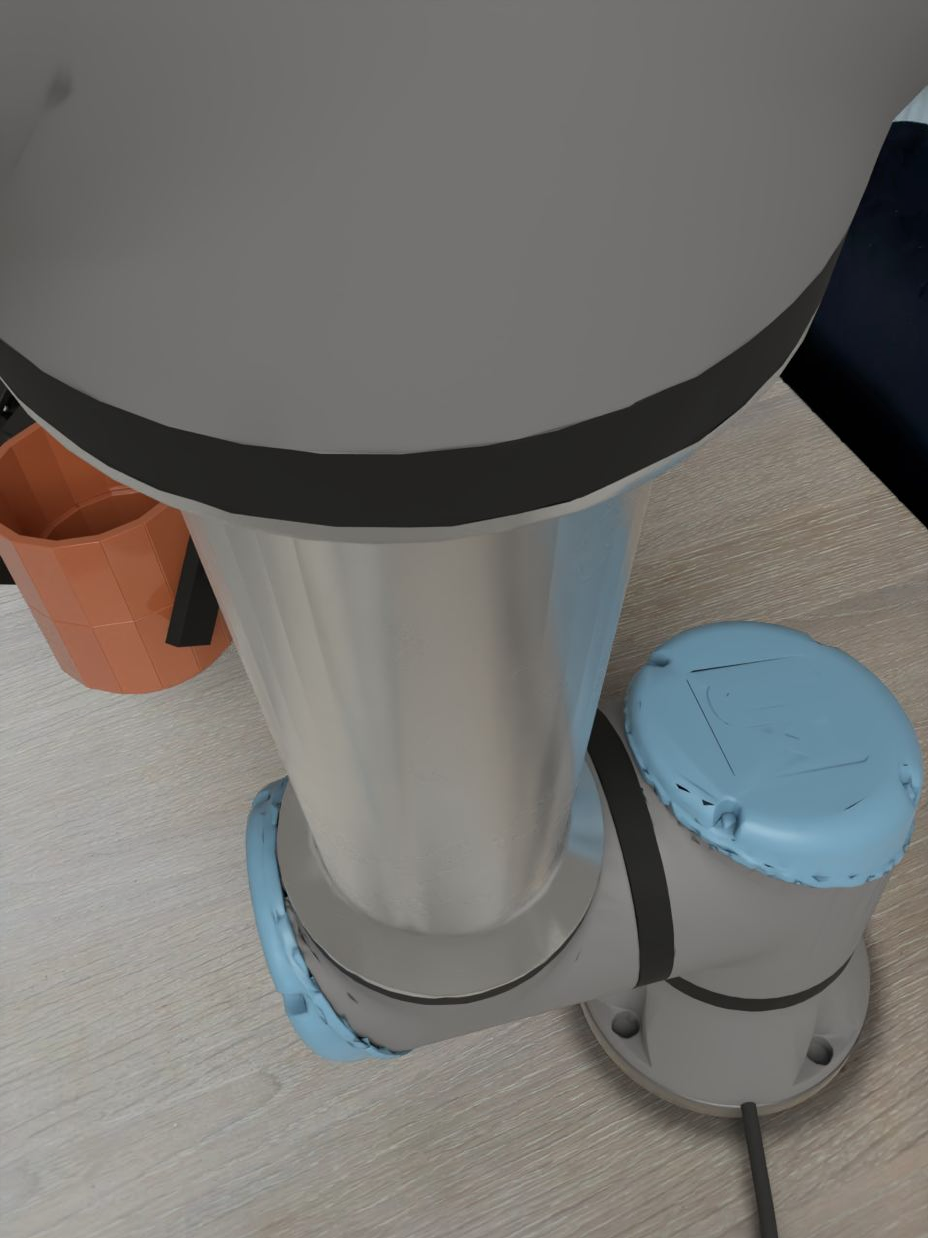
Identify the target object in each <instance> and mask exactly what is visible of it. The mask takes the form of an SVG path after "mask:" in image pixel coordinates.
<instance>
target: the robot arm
mask: <svg viewBox="0 0 928 1238" xmlns="http://www.w3.org/2000/svg"><path fill="white" fill-rule="evenodd" d="M927 86H928V0H0V447H1V446H2V444H4V443H5V442H6V441H8V440H9V439H11V438H12V437H14V436H15V435H17V434H18V433H20V432H21V431H23V430H24V429H26V428H27V427H29V426H30V425H32V424H33V423H35V422H37V423H38V424H39V425H41V426H42V427H43V428H44V429H45V430H46V431H47V432H48V433H50V434H51V435H52V436H53V437H54V438H55V439H56V440H57V441H58V442H60V443H61V444H62V445H63V446H64V447H65V448H66V449H67V450H69V451H70V452H72V453H74V454H75V455H77V456H78V457H80V458H81V459H83V460H84V461H86V462H87V463H89V464H90V465H92V466H93V467H95V468H96V469H98V470H99V471H101V472H103V473H104V474H106V475H107V476H109V477H110V478H112V479H113V480H115V481H117V482H119V483H122V484H124V485H126V486H128V487H130V488H132V489H134V490H136V491H138V492H140V493H143V494H145V495H147V496H149V497H151V498H153V499H155V500H157V501H159V502H161V503H164V504H166V505H168V506H170V507H173V508H177V509H180V510H181V513H182V515H183V518H184V520H185V523H186V525H187V528H188V530H189V532H190V536H189V540H188V545H187V549H186V554H185V558H184V562H183V567H182V571H181V575H180V580H179V584H178V589H177V593H176V597H175V602H174V606H173V610H172V615H171V619H170V623H169V628H168V632H167V637H166V641H165V643H167V644H169V645H172V646H175V647H191V646H203V645H211V640H212V636H213V632H214V627H215V623H216V619H217V615H218V610H219V606H220V609H221V611H222V614H223V616H224V619H225V621H226V624H227V626H228V629H229V631H230V634H231V636H232V639H233V640H232V642H233V644H234V646H235V649H236V651H237V653H238V656H239V657H240V660H241V664H242V665H243V668H244V671H245V673H246V675H247V678H248V681H249V683H250V685H251V687H252V690H253V693H254V695H255V698H256V699H257V703H258V705H259V707H260V710H261V713H262V716H263V717H264V720H265V723H266V725H267V728H268V729H269V730H268V731H269V732H270V735H271V737H272V740H273V742H274V745H275V747H276V749H277V752H278V754H279V757H280V759H281V761H282V764H283V767H284V769H285V772H286V774H287V775H285V776H284V777H281V778H279V779H277V780H275V781H272V782H270V783H268V784H266V785H265V786H263V787H262V788H261V789H260V790H259V791H258V792H257V794H256V795H255V796H254V799H253V801H252V803H251V809H250V810H249V812H248V813H247V820H246V827H245V860H246V861H245V863H246V864H245V865H246V874H247V879H248V880H247V881H248V888H249V894H250V901H251V906H252V909H253V917H254V921H255V925H256V931H257V934H258V938H259V941H260V946H261V949H262V953H263V956H264V957H263V958H264V960H265V963H266V966H267V971H268V973H269V975H270V977H271V979H272V982H273V984H274V988H275V990H276V992H277V993H278V994H280V995H281V996H282V1000H283V1005H284V1006H283V1007H284V1012H285V1014H286V1016H287V1019H288V1021H289V1023H290V1025H291V1027H292V1028H293V1030H294V1032H295V1033H296V1034H297V1036H298V1038H299V1039H300V1040H301V1041H302V1042H303V1043H304V1045H305V1046H306V1047H307V1048H308V1049H309V1051H311V1052H312V1053H313V1054H315V1055H317V1056H318V1057H320V1058H321V1059H323V1060H326V1061H329V1062H333V1063H340V1064H345V1063H346V1064H347V1063H354V1062H359V1061H363V1060H369V1059H373V1058H374V1059H379V1060H391V1059H393V1060H394V1059H397V1058H400V1057H403V1056H406V1055H409V1054H410V1053H411V1052H412V1051H414V1050H415V1049H418V1048H421V1047H425V1046H429V1045H432V1044H436V1043H440V1042H444V1041H449V1040H451V1039H455V1038H458V1037H462V1036H465V1035H470V1034H472V1033H476V1032H480V1031H483V1030H488V1029H491V1028H494V1027H498V1026H501V1025H505V1024H509V1023H513V1022H516V1021H520V1020H524V1019H527V1018H531V1017H534V1016H538V1015H542V1014H546V1013H550V1012H553V1011H556V1010H561V1009H563V1008H568V1007H571V1006H574V1005H578V1004H579V1005H580V1007H581V1011H582V1014H583V1015H584V1019H585V1020H586V1022H587V1024H588V1026H589V1029H590V1031H591V1032H592V1034H593V1036H594V1037H595V1039H596V1041H597V1042H598V1044H599V1046H601V1048H602V1049H603V1051H604V1052H605V1053H606V1054H607V1056H608V1057H609V1058H610V1059H611V1060H612V1061H613V1062H614V1064H615V1065H616V1066H617V1067H618V1068H619V1069H620V1070H621V1071H622V1072H623V1073H625V1074H626V1076H628V1077H629V1078H630V1080H632V1081H634V1082H635V1083H636V1084H637V1085H639V1086H640V1087H642V1088H643V1089H644V1090H646V1091H648V1092H649V1093H651V1094H652V1095H654V1096H656V1097H658V1098H660V1099H661V1100H664V1101H665V1102H667V1103H670V1104H672V1105H674V1106H677V1107H680V1108H682V1109H684V1110H688V1111H692V1112H695V1113H698V1114H701V1115H707V1116H713V1117H721V1118H729V1119H730V1118H732V1119H734V1118H736V1119H737V1118H739V1119H740V1118H742V1123H743V1128H744V1129H743V1130H744V1135H745V1140H746V1147H747V1153H748V1159H749V1164H750V1171H751V1176H752V1177H751V1178H752V1183H753V1188H754V1194H755V1201H756V1207H757V1213H758V1220H759V1228H760V1236H761V1238H779V1232H778V1225H777V1219H776V1212H775V1206H774V1201H773V1200H774V1199H773V1194H772V1189H771V1183H770V1182H771V1181H770V1178H769V1171H768V1170H769V1169H768V1166H767V1161H766V1160H767V1158H766V1154H765V1148H764V1142H763V1137H762V1131H761V1125H760V1119H759V1117H762V1116H767V1115H771V1114H775V1113H779V1112H782V1111H784V1110H789V1109H790V1108H793V1107H795V1106H797V1105H799V1104H801V1103H803V1102H805V1101H807V1100H808V1099H811V1098H812V1097H814V1096H815V1095H816V1094H817V1093H818V1092H820V1091H821V1090H822V1089H823V1088H825V1087H826V1086H827V1085H828V1084H829V1083H830V1082H832V1080H833V1079H834V1078H835V1077H836V1076H837V1075H838V1074H839V1072H840V1071H841V1070H842V1069H843V1067H844V1066H845V1064H846V1062H847V1061H848V1059H849V1058H850V1056H851V1055H852V1052H853V1051H854V1049H855V1047H856V1045H857V1043H858V1042H859V1039H860V1036H861V1034H862V1032H863V1030H864V1026H865V1023H866V1020H867V1017H868V1012H869V1008H870V1000H871V968H870V960H869V955H868V950H867V945H866V942H865V938H864V932H865V930H866V929H867V927H868V924H869V923H870V920H871V918H872V916H873V914H874V912H875V909H876V908H877V906H878V904H879V901H880V900H881V898H882V896H883V893H884V891H885V889H886V887H887V885H888V883H889V881H890V880H891V877H892V875H893V873H894V870H895V868H896V866H897V865H898V864H900V862H901V861H902V860H903V858H904V855H905V853H906V850H907V849H908V847H909V846H910V843H911V841H912V838H913V833H914V830H915V825H916V820H915V815H916V811H917V808H918V806H919V803H920V800H921V796H922V792H923V786H924V761H923V760H924V759H923V754H922V750H921V745H920V741H919V739H918V735H917V732H916V730H915V727H914V726H913V723H912V721H911V719H910V718H909V715H908V714H907V712H906V710H905V709H904V708H903V705H902V704H901V702H899V700H898V699H897V697H896V695H894V693H893V692H892V691H891V689H890V688H889V687H888V686H887V685H886V684H885V683H884V682H883V681H882V680H881V679H880V677H878V676H877V675H876V674H875V673H874V672H873V671H871V670H870V669H869V668H868V667H866V665H864V664H863V663H862V662H861V661H859V660H858V659H856V658H855V657H854V656H852V655H850V654H849V653H848V652H846V651H844V650H843V649H841V648H839V647H836V646H831V645H826V644H824V643H822V642H819V641H817V640H816V639H814V638H812V636H811V635H810V634H809V633H807V632H805V631H802V630H799V629H795V628H792V627H788V626H784V625H781V624H776V623H770V622H763V621H754V620H724V621H715V622H709V623H704V624H699V625H697V626H693V627H691V628H688V629H685V630H683V631H681V632H678V633H676V634H674V635H672V636H670V637H669V638H667V639H666V640H664V641H663V642H662V643H661V644H659V645H658V646H657V647H655V648H654V649H653V651H652V652H651V653H650V655H649V657H648V659H647V660H646V662H645V664H643V666H641V667H639V668H638V670H637V671H636V672H635V673H634V674H633V676H632V677H631V679H630V681H629V683H628V685H627V688H626V695H625V696H624V697H622V698H618V699H614V700H609V701H605V702H600V697H601V694H602V689H603V685H604V681H605V678H606V673H607V670H608V666H609V661H610V657H611V654H612V649H613V645H614V641H615V638H616V633H617V629H618V625H619V622H620V617H621V613H622V610H623V606H624V602H625V598H626V593H627V589H628V587H629V582H630V577H631V573H632V569H633V566H634V562H635V558H636V554H637V550H638V544H639V541H640V537H641V533H642V529H643V526H644V522H645V517H646V514H647V511H648V505H649V501H650V497H651V494H652V490H653V486H654V482H655V478H656V477H659V476H660V475H662V474H664V473H665V472H667V471H669V470H671V469H672V468H674V467H676V466H677V465H679V464H681V463H682V462H684V461H686V460H688V459H689V458H691V457H692V456H694V455H695V454H696V453H698V452H699V451H700V450H702V449H703V448H704V447H705V446H707V445H708V444H710V443H711V442H713V441H714V440H715V439H717V438H718V437H719V436H721V435H722V434H724V433H726V431H728V430H729V429H730V428H732V427H733V426H734V425H736V424H737V423H738V422H739V421H740V420H741V419H742V418H743V417H744V415H745V414H746V413H748V411H749V410H750V409H751V408H752V407H753V406H754V405H755V404H756V403H757V402H758V401H759V400H760V399H761V398H762V397H763V395H764V394H765V393H766V392H767V391H769V389H771V387H772V386H774V384H775V383H776V382H777V380H778V379H779V377H780V376H781V374H782V373H783V372H784V370H785V369H786V367H787V365H788V364H789V362H791V359H793V357H794V355H795V354H796V352H797V351H798V349H799V348H800V346H801V345H802V343H804V340H805V338H806V336H807V334H808V332H809V329H810V328H811V325H812V322H813V320H814V318H815V316H816V314H817V312H818V309H819V307H820V306H821V303H822V300H823V298H824V296H825V294H826V291H827V288H828V286H829V283H830V281H831V278H832V275H833V272H834V269H835V267H836V264H837V261H838V259H839V256H840V254H841V251H842V248H843V246H844V244H845V241H846V238H847V236H848V233H849V230H850V227H851V225H852V223H853V220H854V218H855V214H856V213H857V210H858V208H859V205H860V202H861V200H862V198H863V197H864V194H865V191H866V189H867V187H868V184H869V182H870V179H871V175H872V174H873V170H874V167H875V165H876V162H877V159H878V157H879V155H880V152H881V150H882V147H883V145H884V143H885V141H886V138H887V136H888V134H889V131H890V129H891V127H892V125H893V122H894V120H895V119H896V118H897V116H899V115H900V114H901V113H902V112H903V111H904V110H905V109H906V108H907V107H908V106H909V104H910V103H911V102H913V100H914V99H915V98H916V97H917V96H919V94H921V92H922V91H923V90H924V89H925V88H926V87H927ZM0 586H17V585H16V583H15V581H14V579H13V577H12V576H11V574H10V572H9V570H8V568H7V566H6V564H5V563H4V561H3V559H2V557H1V555H0ZM599 702H600V703H599Z"/></svg>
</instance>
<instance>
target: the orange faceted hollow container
mask: <svg viewBox="0 0 928 1238" xmlns="http://www.w3.org/2000/svg"><path fill="white" fill-rule="evenodd" d="M189 536H190V532H189V530H188V528H187V525H186V523H185V520H184V518H183V515H182V513H181V510H180V509H177V508H173V507H170V506H168V505H166V504H164V503H161V502H159V501H157V500H155V499H153V498H151V497H149V496H147V495H145V494H143V493H140V492H138V491H136V490H134V489H132V488H130V487H128V486H126V485H124V484H122V483H119V482H117V481H115V480H113V479H112V478H110V477H109V476H107V475H106V474H104V473H103V472H101V471H99V470H98V469H96V468H95V467H93V466H92V465H90V464H89V463H87V462H86V461H84V460H83V459H81V458H80V457H78V456H77V455H75V454H74V453H72V452H70V451H69V450H67V449H66V448H65V447H64V446H63V445H62V444H61V443H60V442H58V441H57V440H56V439H55V438H54V437H53V436H52V435H51V434H50V433H48V432H47V431H46V430H45V429H44V428H43V427H42V426H41V425H39V424H38V423H37V422H35V423H33V424H32V425H30V426H29V427H27V428H26V429H24V430H23V431H21V432H20V433H18V434H17V435H15V436H14V437H12V438H11V439H9V440H8V441H6V442H5V443H4V444H2V446H1V447H0V555H1V557H2V559H3V561H4V563H5V564H6V566H7V568H8V570H9V572H10V574H11V576H12V577H13V579H14V581H15V583H16V585H15V586H16V587H17V588H18V590H19V592H20V594H21V596H22V598H23V600H24V602H25V603H26V605H27V607H28V609H29V611H30V613H31V615H32V616H33V619H34V620H35V622H36V624H37V626H38V627H39V630H40V632H41V633H42V635H43V637H44V639H45V641H46V643H47V644H48V646H49V648H50V651H51V652H52V654H53V655H54V658H55V659H56V662H57V664H58V665H59V667H60V669H61V670H62V672H64V673H65V674H67V675H68V676H70V677H71V678H72V679H74V680H75V681H77V682H78V683H79V684H81V685H82V686H84V687H85V688H87V689H92V690H96V691H101V692H107V693H111V694H118V695H145V694H151V693H157V692H161V691H165V690H169V689H171V688H174V687H176V686H179V685H182V684H183V683H185V682H187V681H190V680H192V679H193V678H195V677H197V676H198V675H200V674H201V673H203V672H205V671H206V670H207V669H208V668H210V667H211V666H212V665H213V664H214V663H216V661H217V660H218V659H219V658H221V656H222V655H223V654H224V653H225V652H226V650H227V649H228V648H229V647H230V646H231V644H232V643H233V639H232V636H231V634H230V631H229V629H228V626H227V624H226V621H225V619H224V616H223V614H222V611H221V609H220V606H219V610H218V615H217V619H216V623H215V627H214V632H213V636H212V640H211V645H203V646H191V647H175V646H172V645H169V644H167V643H165V641H166V637H167V632H168V628H169V623H170V619H171V615H172V610H173V606H174V602H175V597H176V593H177V589H178V584H179V580H180V575H181V571H182V567H183V562H184V558H185V554H186V549H187V545H188V540H189Z"/></svg>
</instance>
